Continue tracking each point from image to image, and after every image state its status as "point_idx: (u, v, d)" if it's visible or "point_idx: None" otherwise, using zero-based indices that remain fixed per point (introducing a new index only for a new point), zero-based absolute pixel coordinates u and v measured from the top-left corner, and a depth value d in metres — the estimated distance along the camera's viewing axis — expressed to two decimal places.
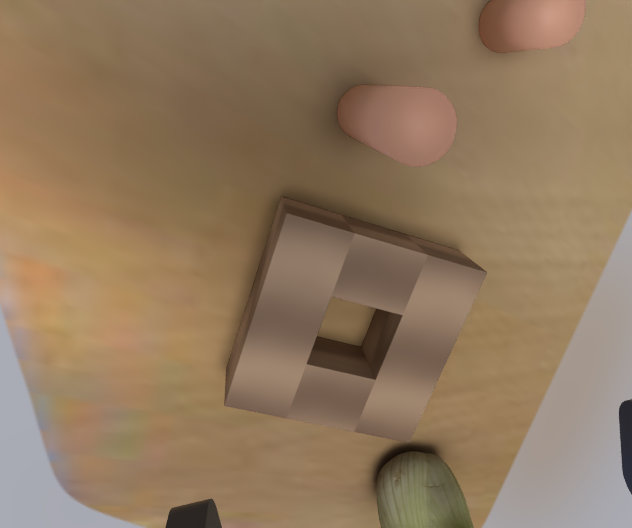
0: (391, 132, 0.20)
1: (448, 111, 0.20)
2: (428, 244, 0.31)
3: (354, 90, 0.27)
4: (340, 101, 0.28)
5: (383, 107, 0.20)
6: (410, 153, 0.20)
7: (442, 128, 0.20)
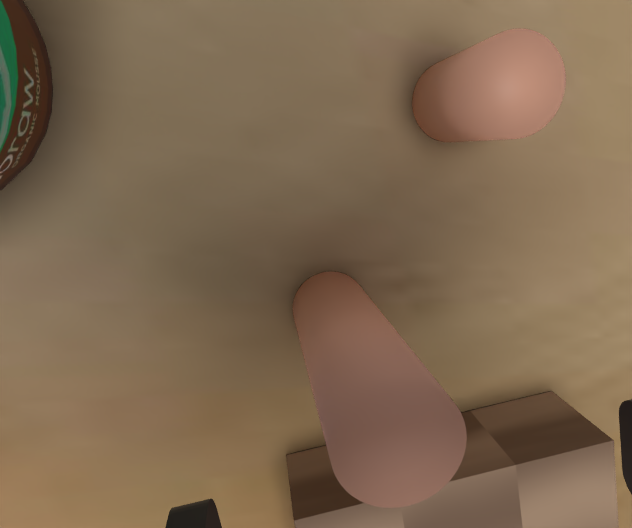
0: (357, 478, 0.11)
1: (431, 398, 0.11)
2: (506, 416, 0.22)
3: (300, 305, 0.19)
4: (293, 314, 0.20)
5: (325, 433, 0.11)
6: (406, 488, 0.11)
7: (436, 426, 0.11)
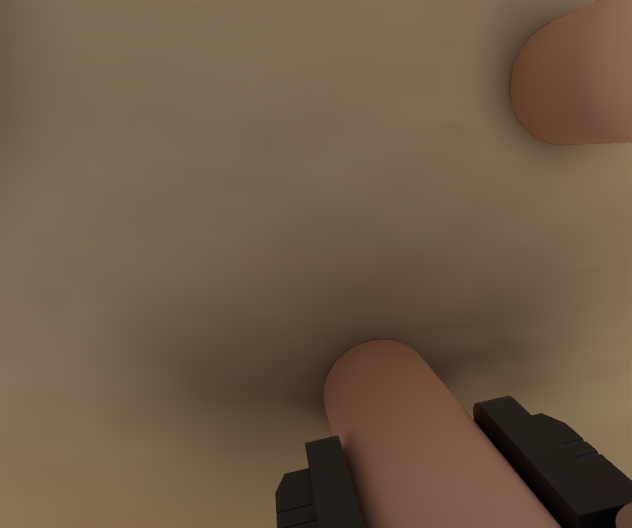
0: None
1: None
2: None
3: (338, 400, 0.12)
4: None
5: None
6: None
7: None
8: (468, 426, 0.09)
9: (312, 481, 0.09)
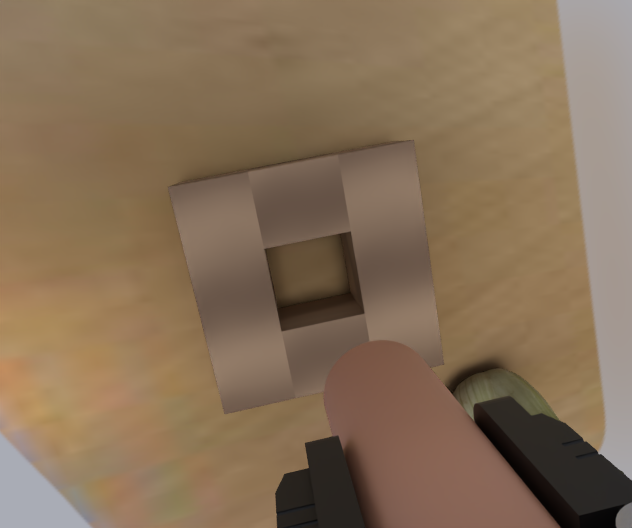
0: None
1: None
2: (350, 150, 0.28)
3: (338, 400, 0.12)
4: (325, 406, 0.13)
5: None
6: None
7: None
8: (468, 427, 0.09)
9: (312, 481, 0.09)
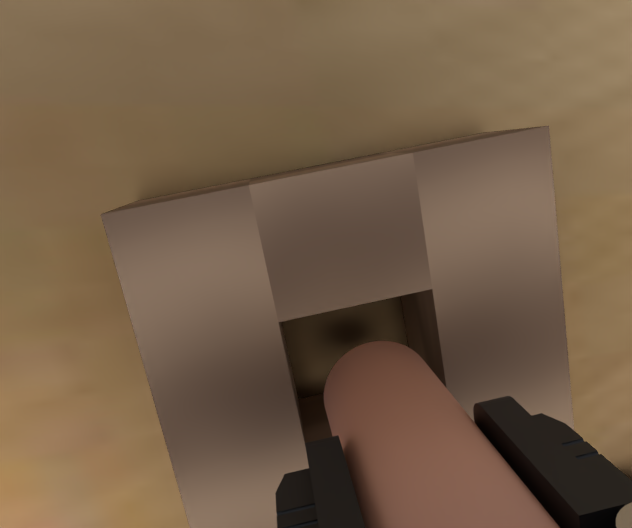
0: None
1: None
2: (420, 146, 0.17)
3: (338, 401, 0.12)
4: (325, 407, 0.13)
5: None
6: None
7: None
8: (468, 428, 0.09)
9: (312, 481, 0.09)
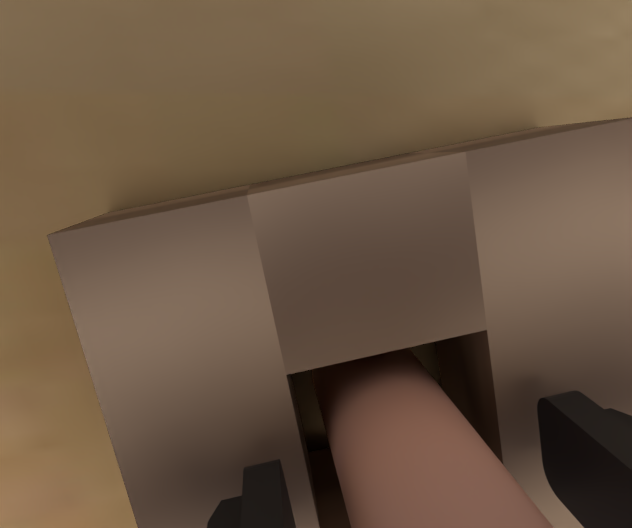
0: None
1: None
2: (463, 144, 0.13)
3: (324, 375, 0.13)
4: (313, 382, 0.15)
5: None
6: None
7: None
8: (435, 392, 0.11)
9: (242, 511, 0.08)
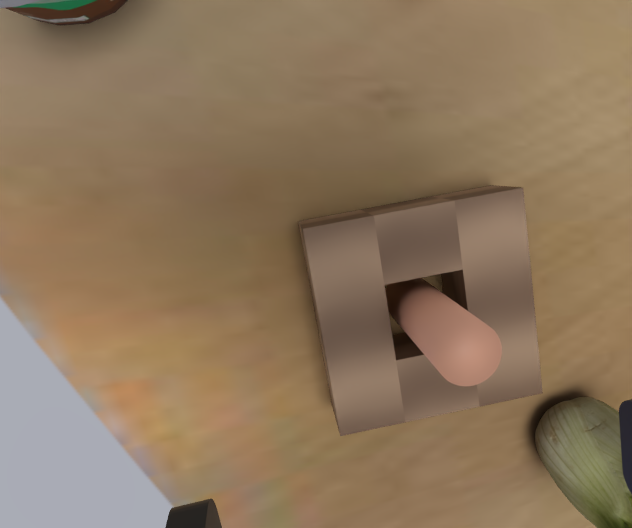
0: (447, 369, 0.22)
1: (485, 330, 0.22)
2: (455, 193, 0.30)
3: (392, 294, 0.30)
4: None
5: (430, 349, 0.23)
6: (471, 376, 0.23)
7: (487, 344, 0.22)
8: (441, 292, 0.28)
9: None
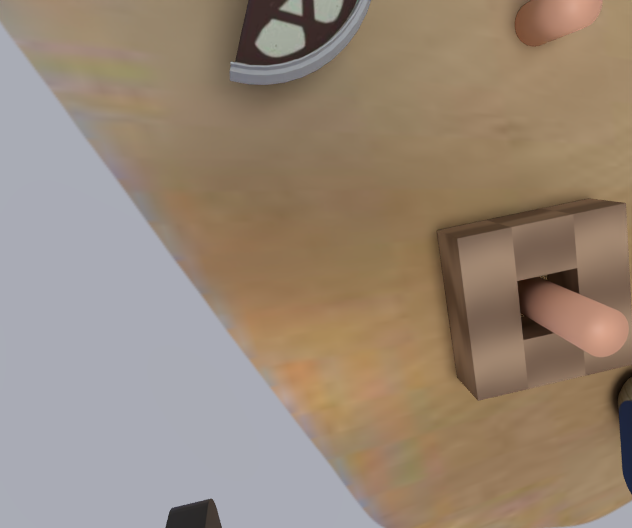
0: (589, 344, 0.30)
1: (617, 315, 0.30)
2: (564, 206, 0.38)
3: None
4: None
5: (573, 330, 0.31)
6: (605, 349, 0.30)
7: (618, 325, 0.30)
8: None
9: None
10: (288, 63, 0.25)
